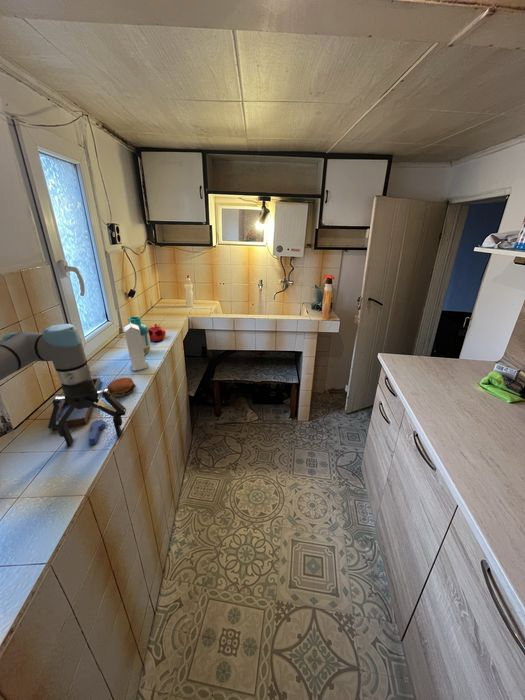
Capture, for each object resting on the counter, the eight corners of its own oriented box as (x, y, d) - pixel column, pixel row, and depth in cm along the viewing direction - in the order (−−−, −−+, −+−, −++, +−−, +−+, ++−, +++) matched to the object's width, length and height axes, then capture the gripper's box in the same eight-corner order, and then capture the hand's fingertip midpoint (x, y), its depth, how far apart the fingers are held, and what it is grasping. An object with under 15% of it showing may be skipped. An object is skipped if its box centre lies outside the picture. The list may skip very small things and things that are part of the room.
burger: (103, 395, 109) (100, 385, 107) (121, 383, 117) (118, 373, 115) (124, 400, 106) (121, 389, 104) (140, 387, 114) (138, 377, 112)
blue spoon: (85, 445, 85) (84, 440, 84) (92, 424, 93) (91, 420, 92) (100, 442, 86) (99, 437, 85) (106, 422, 94) (104, 417, 94)
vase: (126, 358, 138) (118, 321, 130) (133, 349, 148) (126, 314, 140) (149, 357, 139) (142, 320, 131) (154, 348, 148) (148, 314, 140)
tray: (52, 429, 91) (50, 423, 90) (75, 386, 115) (73, 381, 114) (86, 423, 94) (84, 417, 93) (101, 382, 117) (99, 377, 116)
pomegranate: (151, 336, 165) (149, 321, 161) (168, 336, 165) (166, 321, 161) (145, 342, 156) (142, 326, 152) (163, 342, 156) (160, 326, 152)
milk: (145, 363, 134) (137, 318, 125) (146, 368, 129) (138, 322, 120) (131, 365, 131) (122, 320, 122) (132, 371, 126) (123, 324, 117)
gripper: (16, 394, 72) (44, 456, 80) (123, 378, 79) (137, 437, 88) (28, 379, 78) (52, 439, 87) (126, 366, 85) (139, 422, 94)
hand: (95, 438), depth 87 cm, fingers open, 13 cm apart
